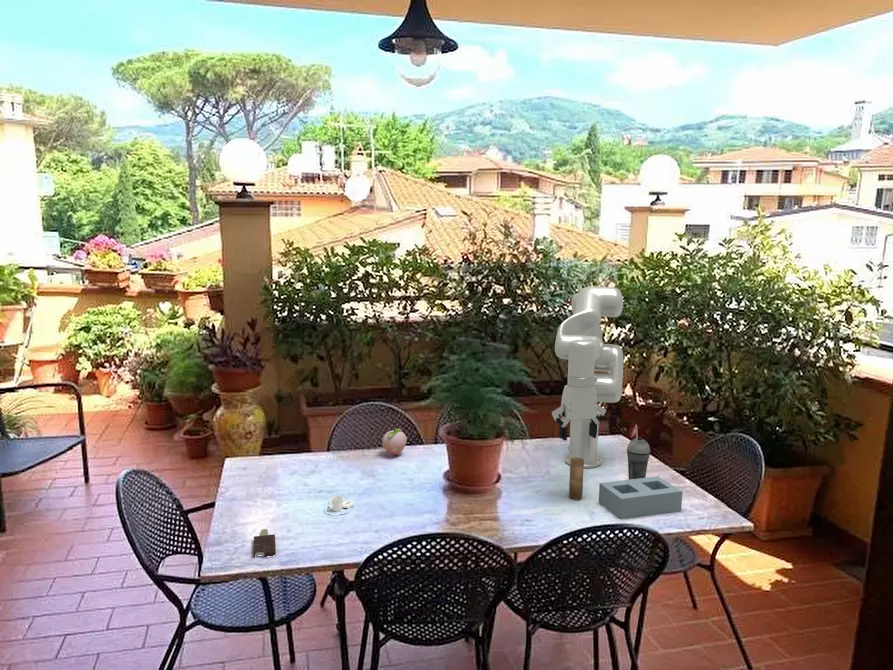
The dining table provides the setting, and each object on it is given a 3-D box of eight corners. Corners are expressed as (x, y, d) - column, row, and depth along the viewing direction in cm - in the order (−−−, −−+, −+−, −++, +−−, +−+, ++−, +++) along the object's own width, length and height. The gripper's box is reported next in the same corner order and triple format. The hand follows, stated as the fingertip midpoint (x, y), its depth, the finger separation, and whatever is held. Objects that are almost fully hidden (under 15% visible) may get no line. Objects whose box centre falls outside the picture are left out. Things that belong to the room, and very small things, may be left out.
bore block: (598, 502, 199) (599, 483, 198) (656, 494, 205) (657, 476, 204) (620, 519, 188) (621, 498, 187) (681, 510, 194) (682, 491, 193)
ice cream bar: (254, 533, 178) (253, 560, 163) (254, 527, 177) (253, 554, 163) (274, 531, 179) (275, 558, 165) (274, 525, 179) (275, 552, 165)
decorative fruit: (387, 449, 243) (387, 423, 242) (409, 452, 241) (409, 425, 240) (378, 458, 234) (378, 430, 233) (400, 460, 232) (400, 433, 231)
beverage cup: (649, 491, 208) (653, 429, 204) (625, 489, 209) (628, 427, 206) (647, 482, 215) (651, 422, 211) (623, 480, 216) (627, 420, 213)
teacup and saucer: (353, 504, 197) (352, 491, 196) (355, 515, 189) (355, 502, 189) (322, 506, 195) (322, 493, 195) (323, 518, 188) (323, 504, 187)
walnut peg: (566, 495, 204) (568, 458, 202) (578, 494, 205) (579, 456, 203) (572, 500, 200) (574, 462, 198) (584, 499, 201) (586, 461, 199)
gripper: (600, 377, 202) (597, 432, 205) (548, 380, 197) (546, 436, 200) (613, 382, 195) (610, 439, 198) (559, 385, 190) (557, 444, 193)
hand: (578, 437), depth 199 cm, fingers open, 9 cm apart
